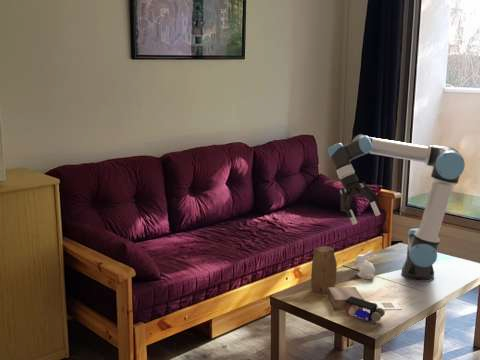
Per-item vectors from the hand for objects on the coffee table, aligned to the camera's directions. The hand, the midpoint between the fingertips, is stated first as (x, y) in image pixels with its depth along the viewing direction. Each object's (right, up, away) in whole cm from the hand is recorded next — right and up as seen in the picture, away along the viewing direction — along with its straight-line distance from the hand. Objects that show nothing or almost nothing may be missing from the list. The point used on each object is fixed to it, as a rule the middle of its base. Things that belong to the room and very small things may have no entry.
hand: (366, 219), depth 261 cm
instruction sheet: (+3, -36, -13) cm, 38 cm away
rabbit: (+3, -28, +20) cm, 35 cm away
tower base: (-12, -35, -13) cm, 39 cm away
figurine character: (-7, -38, -26) cm, 47 cm away
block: (-19, -32, +2) cm, 37 cm away
